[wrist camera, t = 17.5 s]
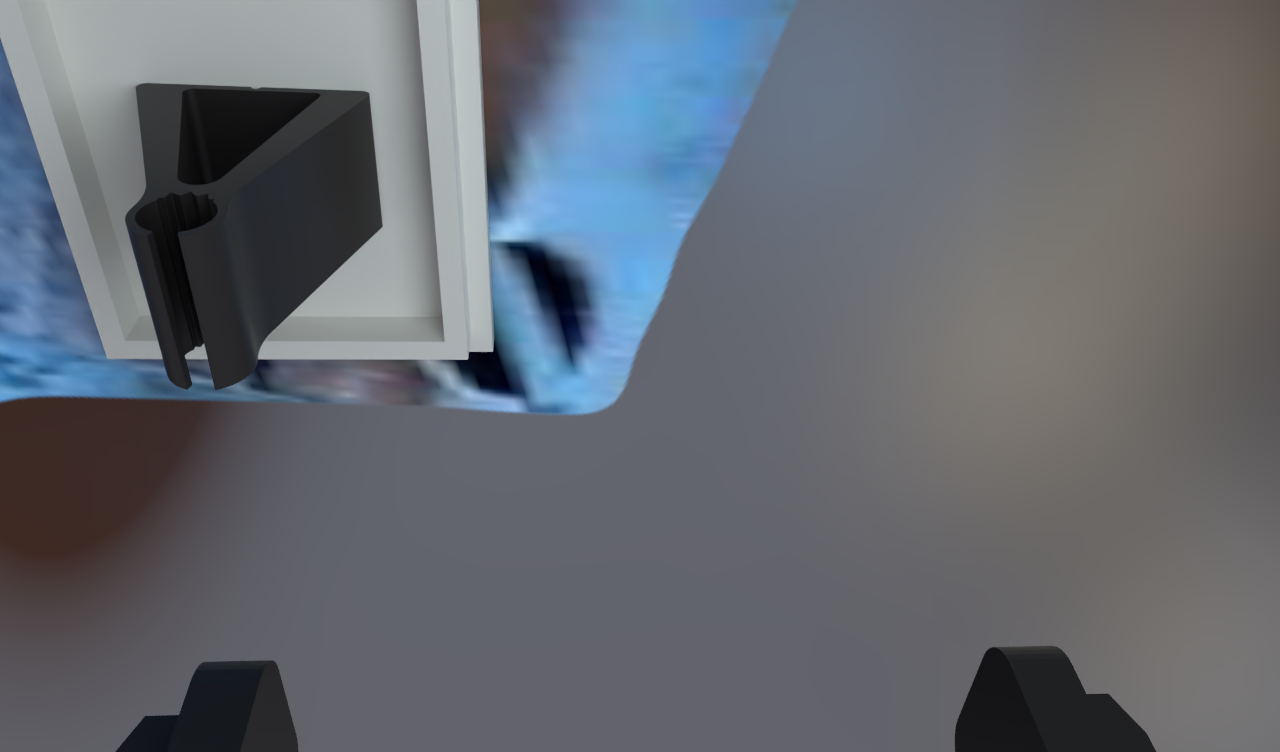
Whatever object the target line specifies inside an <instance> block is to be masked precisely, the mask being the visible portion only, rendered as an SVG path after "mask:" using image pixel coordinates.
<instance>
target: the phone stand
mask: <svg viewBox="0 0 1280 752" xmlns="http://www.w3.org/2000/svg"><path fill="white" fill-rule="evenodd" d="M136 96H137V105H138V114H139V123H140V133H141V142H142V151H143V160H144V169H145V178H146V189H145V192H144V194H143V196H142V197H141V199H140V200H139V201H138V202H137V203H136V204H135V205H134V206H133V207H132V208H131V209H130V210H129V211H128V212H127V214H126V216H125V223H126V226H127V230H128V234H129V237H130V241H131V245H132V248H133V252H134V256H135V259H136V263H137V267H138V270H139V274H140V277H141V281H142V285H143V288H144V292H145V296H146V299H147V303H148V307H149V310H150V314H151V318H152V321H153V325H154V328H155V332H156V336H157V339H158V343H159V347H160V350H161V354H162V358H163V361H164V365H165V369H166V372H167V376H168V378H169V380H170V381H171V382H172V383H173V384H175V385H176V386H178V387H181V388H183V389H188V388H189V387H190V386H191V385H192V382H191V378H190V374H189V370H188V366H187V362H186V359H185V355H186V354H187V353H189V352H190V351H192V350H194V348H195V347H201V346H202V345H203V344H204V345H205V349H206V353H207V358H208V362H209V366H210V370H211V374H212V378H213V382H214V387H215V390H217V389H222V388H225V387H228V386H231V385H234V384H236V383H238V382H240V381H241V380H243V379H245V378H246V377H247V376H249V375H250V374H251V373H252V372H253V370H254V369H255V367H256V365H257V362H258V354H259V350H260V348H261V346H262V344H263V342H264V340H265V339H266V338H267V337H268V335H269V334H270V333H271V332H272V331H273V330H274V329H276V328H277V327H278V326H279V325H280V324H281V323H282V322H283V321H284V320H285V319H286V318H287V317H288V316H289V315H290V314H291V313H292V312H293V311H294V310H296V309H297V308H298V307H299V306H300V305H301V304H302V303H303V302H304V301H305V300H306V299H307V298H308V297H309V296H310V295H311V294H312V293H313V292H314V291H316V290H317V289H318V288H319V287H320V286H321V285H322V284H323V283H324V282H325V281H326V280H327V279H328V278H329V277H330V276H331V275H332V274H333V273H334V272H336V271H337V270H338V269H339V268H340V267H341V266H342V265H343V264H344V263H345V262H346V261H347V260H348V259H349V258H350V257H351V256H352V255H353V254H354V253H356V252H357V251H358V250H359V249H360V248H361V247H362V246H363V245H364V244H365V243H366V242H367V241H368V240H369V239H370V238H371V237H372V236H373V235H374V234H376V233H377V232H378V231H379V230H380V229H381V228H382V227H383V224H382V214H381V204H380V194H379V184H378V174H377V164H376V155H375V145H374V135H373V125H372V115H371V105H370V95H369V93H368V92H366V91H352V90H324V89H297V88H270V87H261V88H258V89H253V88H251V87H243V86H215V85H188V84H161V83H143V84H139V85H137V86H136Z"/></svg>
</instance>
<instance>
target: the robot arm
mask: <svg viewBox="0 0 1280 752" xmlns="http://www.w3.org/2000/svg"><path fill="white" fill-rule="evenodd" d="M116 752H298V743H297V737H296V733H295V729H294V725H293V721H292V717H291V714H290V710H289V706H288V702H287V699H286V695H285V692H284V688H283V684H282V680H281V676H280V673H279V669H278V666H277V664H276V663H275V662H274V661H227V662H226V661H225V662H203V663H201V664H200V665H199V666H198V668H197V669H196V671H195V673H194V675H193V677H192V680H191V682H190V685H189V688H188V691H187V694H186V697H185V700H184V702H183V705H182V708H181V711H180V714H179V715H172V716H171V715H168V716H145V717H144V718H143V719H142V721H141V722H140V723H139V724H138V726H137V727H136V728H135V729H134V730H133V731H132V733H131V734H130V735H129V736H128V737H127V739H126V740H125V741H124V742H123V743H122V745H121V746H120V747H119V748H118V750H117V751H116ZM955 752H1156V750H1155V749H1154V747H1153V745H1152V743H1151V741H1150V739H1149V737H1148V735H1147V734H1146V732H1145V731H1144V730H1143V729H1142V728H1141V727H1140V726H1139V725H1138V724H1137V723H1136V722H1135V721H1134V720H1133V719H1132V718H1131V717H1130V716H1129V715H1128V714H1127V713H1126V712H1125V711H1124V710H1123V709H1122V708H1121V707H1120V705H1119V704H1118V703H1117V702H1116V701H1115V700H1114V699H1113V698H1112V697H1111V696H1110V695H1109V694H1086V693H1085V690H1084V688H1083V686H1082V684H1081V682H1080V680H1079V678H1078V676H1077V674H1076V672H1075V670H1074V668H1073V666H1072V664H1071V662H1070V660H1069V658H1068V657H1067V655H1066V654H1065V653H1064V652H1063V651H1062V650H1061V649H1060V648H1058V647H1055V646H1028V647H992V648H990V649H988V650H987V651H986V653H985V655H984V657H983V659H982V662H981V664H980V666H979V669H978V671H977V674H976V676H975V679H974V681H973V684H972V686H971V688H970V691H969V693H968V696H967V698H966V701H965V703H964V706H963V708H962V711H961V713H960V715H959V718H958V721H957V724H956V730H955Z"/></svg>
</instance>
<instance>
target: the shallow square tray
mask: <svg viewBox="0 0 1280 752" xmlns="http://www.w3.org/2000/svg"><path fill="white" fill-rule="evenodd" d="M0 39H1V42H2V45H3V48H4V51H5V54H6V56H7V59H8V62H9V65H10V68H11V71H12V74H13V77H14V80H15V83H16V86H17V89H18V92H19V95H20V98H21V101H22V104H23V107H24V110H25V113H26V116H27V119H28V122H29V125H30V128H31V131H32V134H33V137H34V140H35V143H36V146H37V149H38V152H39V155H40V158H41V161H42V164H43V167H44V170H45V173H46V176H47V179H48V182H49V185H50V188H51V191H52V194H53V197H54V200H55V203H56V206H57V209H58V212H59V215H60V218H61V221H62V224H63V227H64V230H65V233H66V236H67V239H68V242H69V245H70V248H71V251H72V254H73V257H74V260H75V263H76V266H77V269H78V272H79V275H80V278H81V281H82V284H83V287H84V290H85V293H86V296H87V299H88V302H89V305H90V308H91V311H92V314H93V317H94V320H95V323H96V326H97V329H98V332H99V335H100V338H101V341H102V344H103V347H104V350H105V353H106V356H107V359H163V358H162V354H161V350H160V347H159V343H158V339H157V336H156V332H155V328H154V325H153V321H152V318H151V314H150V310H149V307H148V303H147V299H146V296H145V292H144V288H143V285H142V281H141V277H140V274H139V270H138V267H137V263H136V259H135V256H134V252H133V248H132V245H131V241H130V237H129V234H128V230H127V226H126V223H125V216H126V214H127V212H128V211H129V210H130V209H131V208H132V207H133V206H134V205H135V204H136V203H137V202H138V201H139V200H140V199H141V197H142V196H143V194H144V192H145V189H146V178H145V169H144V160H143V151H142V142H141V133H140V123H139V114H138V105H137V96H136V86H137V85H139V84H143V83H161V84H188V85H215V86H243V87H251V88H253V89H258V88H261V87H270V88H297V89H324V90H352V91H366V92H368V93H369V95H370V105H371V115H372V125H373V135H374V145H375V155H376V164H377V174H378V184H379V194H380V204H381V214H382V224H383V227H382V228H381V229H380V230H379V231H378V232H377V233H376V234H374V235H373V236H372V237H371V238H370V239H369V240H368V241H367V242H366V243H365V244H364V245H363V246H362V247H361V248H360V249H359V250H358V251H357V252H356V253H354V254H353V255H352V256H351V257H350V258H349V259H348V260H347V261H346V262H345V263H344V264H343V265H342V266H341V267H340V268H339V269H338V270H337V271H336V272H334V273H333V274H332V275H331V276H330V277H329V278H328V279H327V280H326V281H325V282H324V283H323V284H322V285H321V286H320V287H319V288H318V289H317V290H316V291H314V292H313V293H312V294H311V295H310V296H309V297H308V298H307V299H306V300H305V301H304V302H303V303H302V304H301V305H300V306H299V307H298V308H297V309H296V310H294V311H293V312H292V313H291V314H290V315H289V316H288V317H287V318H286V319H285V320H284V321H283V322H282V323H281V324H280V325H279V326H278V327H277V328H276V329H274V330H273V331H272V332H271V333H270V334H269V335H268V337H267V338H266V339H265V340H264V342H263V344H262V346H261V348H260V350H259V354H258V359H423V360H468V355H469V352H493V345H494V324H493V302H492V280H491V258H490V236H489V214H488V192H487V170H486V148H485V126H484V104H483V82H482V60H481V39H480V17H479V0H0ZM185 359H208V358H207V353H206V349H205V345H204V344H203V345H202V346H201V347H195V348H194V350H192V351H190V352H189V353H187V354H186V355H185Z"/></svg>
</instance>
